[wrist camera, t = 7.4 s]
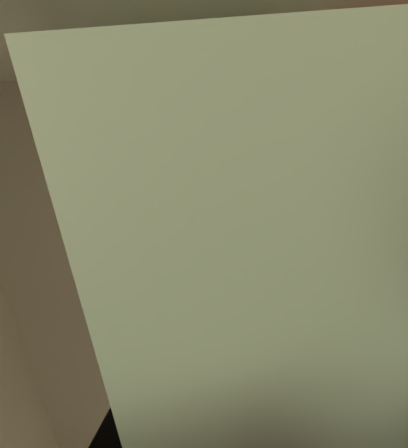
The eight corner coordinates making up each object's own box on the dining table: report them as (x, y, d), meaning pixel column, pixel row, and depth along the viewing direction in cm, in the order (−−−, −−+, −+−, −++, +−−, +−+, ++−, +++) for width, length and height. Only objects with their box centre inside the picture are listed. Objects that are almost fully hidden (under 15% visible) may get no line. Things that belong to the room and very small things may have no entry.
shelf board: (307, 472, 12) (387, 634, 8) (178, 515, 11) (199, 717, 7) (297, 67, 7) (466, 0, 4) (80, 90, 7) (4, 34, 3)
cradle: (325, 397, 17) (443, 564, 11) (54, 473, 15) (-14, 747, 8) (335, 23, 11) (600, -121, 5) (-103, 49, 9) (-720, -160, 3)
